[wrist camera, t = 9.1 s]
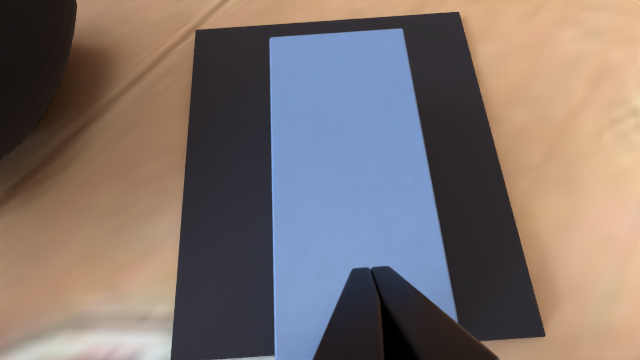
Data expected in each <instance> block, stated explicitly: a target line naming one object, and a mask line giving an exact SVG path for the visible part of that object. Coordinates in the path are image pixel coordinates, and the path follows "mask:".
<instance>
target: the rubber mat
mask: <svg viewBox="0 0 640 360" xmlns="http://www.w3.org/2000/svg"><path fill="white" fill-rule="evenodd" d="M400 28H401V29H403V33H404V38H405V43H406V49H407V54H408V59H409V64H410V70H411V75H412V80H413V86H414V91H415V96H416V101H417V107H418V112H419V117H420V123H421V128H422V133H423V139H424V144H425V149H426V154H427V160H428V165H429V170H430V176H431V181H432V186H433V192H434V197H435V202H436V207H437V213H438V218H439V223H440V229H441V234H442V239H443V245H444V250H445V255H446V260H447V266H448V271H449V276H450V282H451V287H452V292H453V297H454V303H455V308H456V313H457V319H458V324H459V325H460V326H462V327H463V328H464V329H465V330H466V331H468V332H469V333H470V334H471V335H472V336H474V337H475V338H476V339H477V340H478V341H488V340H502V339H517V338H531V337H544V336H545V332H544V328H543V324H542V321H541V317H540V313H539V309H538V306H537V302H536V298H535V294H534V291H533V287H532V283H531V279H530V276H529V272H528V268H527V265H526V261H525V257H524V253H523V250H522V246H521V242H520V238H519V235H518V231H517V227H516V223H515V220H514V216H513V212H512V208H511V205H510V201H509V197H508V194H507V190H506V186H505V182H504V179H503V175H502V171H501V167H500V164H499V160H498V156H497V152H496V149H495V145H494V141H493V137H492V134H491V130H490V126H489V122H488V119H487V115H486V111H485V108H484V104H483V100H482V96H481V93H480V89H479V85H478V81H477V78H476V74H475V70H474V66H473V63H472V59H471V55H470V51H469V48H468V44H467V40H466V37H465V33H464V29H463V25H462V22H461V18H460V14H459V12H449V13H435V14H421V15H406V16H392V17H377V18H363V19H348V20H334V21H319V22H305V23H291V24H276V25H262V26H247V27H233V28H218V29H204V30H196V36H195V49H194V62H193V75H192V88H191V101H190V114H189V127H188V140H187V153H186V166H185V179H184V192H183V205H182V218H181V231H180V244H179V257H178V270H177V283H176V296H175V309H174V323H173V336H172V349H171V360H214V359H229V358H243V357H257V356H272V355H275V334H274V275H273V217H272V158H271V99H270V38H271V37H284V36H298V35H313V34H327V33H342V32H356V31H371V30H385V29H400Z"/></svg>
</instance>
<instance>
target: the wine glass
mask: <svg viewBox="0 0 640 360" xmlns="http://www.w3.org/2000/svg"><path fill="white" fill-rule="evenodd" d="M76 12H77V3H76V0H0V160H1V159H2V158H3V157H5V156H6V155H7V154H9V153H10V152H11V151H12V150H13V149H15V148H16V147H17V146H18V145H19V144H20V143H21V142H22V141H23V140H24V139H25V138H26V137H27V136H28V135H29V134H30V133H31V131H32V130H33V129H34V127H35V126H36V125H37V123H38V122H39V121H40V119H41V118H42V116H43V115H44V113H45V112H46V110H47V108H48V107H49V105H50V103H51V102H52V100H53V98H54V96H55V94H56V92H57V89H58V87H59V85H60V83H61V80H62V77H63V74H64V72H65V69H66V66H67V62H68V58H69V54H70V50H71V46H72V40H73V35H74V29H75V21H76Z"/></svg>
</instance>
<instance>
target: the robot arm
mask: <svg viewBox="0 0 640 360" xmlns="http://www.w3.org/2000/svg"><path fill="white" fill-rule="evenodd" d="M312 360H499V358H498V356H496V355H495V354H494V353H493V352H492V351H490V350H489V349H488V348H487V347H486V346H484V345H483V344H482V343H481V342H480V341H478V340H477V339H476V338H475V337H474V336H472V335H471V334H470V333H469V332H468V331H466V330H465V329H464V328H463V327H462V326H460V325H459V324H458V323H457V322H456V321H455V320H453V319H452V318H451V317H450V316H449V315H447V314H446V313H445V312H444V311H443V310H441V309H440V308H439V307H438V306H437V305H435V304H434V303H433V302H432V301H431V300H429V299H428V298H427V297H426V296H425V295H423V294H422V293H421V292H420V291H419V290H417V289H416V288H415V287H414V286H413V285H412V284H410V283H409V282H408V281H407V280H406V279H404V278H403V277H402V276H401V275H400V274H398V273H397V272H396V271H395V270H394V269H392V268H391V267H390V266H375V267H372V268H371V269H370V268H369V267H361V268H353V269H352V270H351V272H350V274H349V276H348V279H347V281H346V283H345V285H344V288H343V290H342V292H341V295H340V297H339V299H338V302H337V304H336V306H335V309H334V311H333V313H332V316H331V318H330V320H329V322H328V325H327V327H326V329H325V332H324V334H323V336H322V339H321V341H320V343H319V346H318V348H317V350H316V353H315V355H314V357H313V359H312Z"/></svg>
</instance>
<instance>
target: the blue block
mask: <svg viewBox="0 0 640 360" xmlns="http://www.w3.org/2000/svg"><path fill="white" fill-rule="evenodd" d="M270 99H271V158H272V217H273V275H274V334H275V360H312V359H313V357H314V355H315V353H316V350H317V348H318V346H319V343H320V341H321V339H322V336H323V334H324V332H325V329H326V327H327V325H328V322H329V320H330V318H331V316H332V313H333V311H334V309H335V306H336V304H337V302H338V299H339V297H340V295H341V292H342V290H343V288H344V285H345V283H346V281H347V279H348V276H349V274H350V272H351V270H352V269H353V268H361V267H369V268H370V269H371V268H372V267H375V266H390V267H391V268H392V269H394V270H395V271H396V272H397V273H398V274H400V275H401V276H402V277H403V278H404V279H406V280H407V281H408V282H409V283H410V284H412V285H413V286H414V287H415V288H416V289H417V290H419V291H420V292H421V293H422V294H423V295H425V296H426V297H427V298H428V299H429V300H431V301H432V302H433V303H434V304H435V305H437V306H438V307H439V308H440V309H441V310H443V311H444V312H445V313H446V314H447V315H449V316H450V317H451V318H452V319H453V320H455V321H456V322H457V323H458V319H457V313H456V308H455V303H454V297H453V292H452V287H451V282H450V276H449V271H448V266H447V260H446V255H445V250H444V245H443V239H442V234H441V229H440V223H439V218H438V213H437V207H436V202H435V197H434V192H433V186H432V181H431V176H430V170H429V165H428V160H427V154H426V149H425V144H424V139H423V133H422V128H421V123H420V117H419V112H418V107H417V101H416V96H415V91H414V86H413V80H412V75H411V70H410V64H409V59H408V54H407V49H406V43H405V38H404V33H403V29H401V28H400V29H385V30H371V31H356V32H342V33H327V34H313V35H298V36H284V37H271V38H270Z"/></svg>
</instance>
